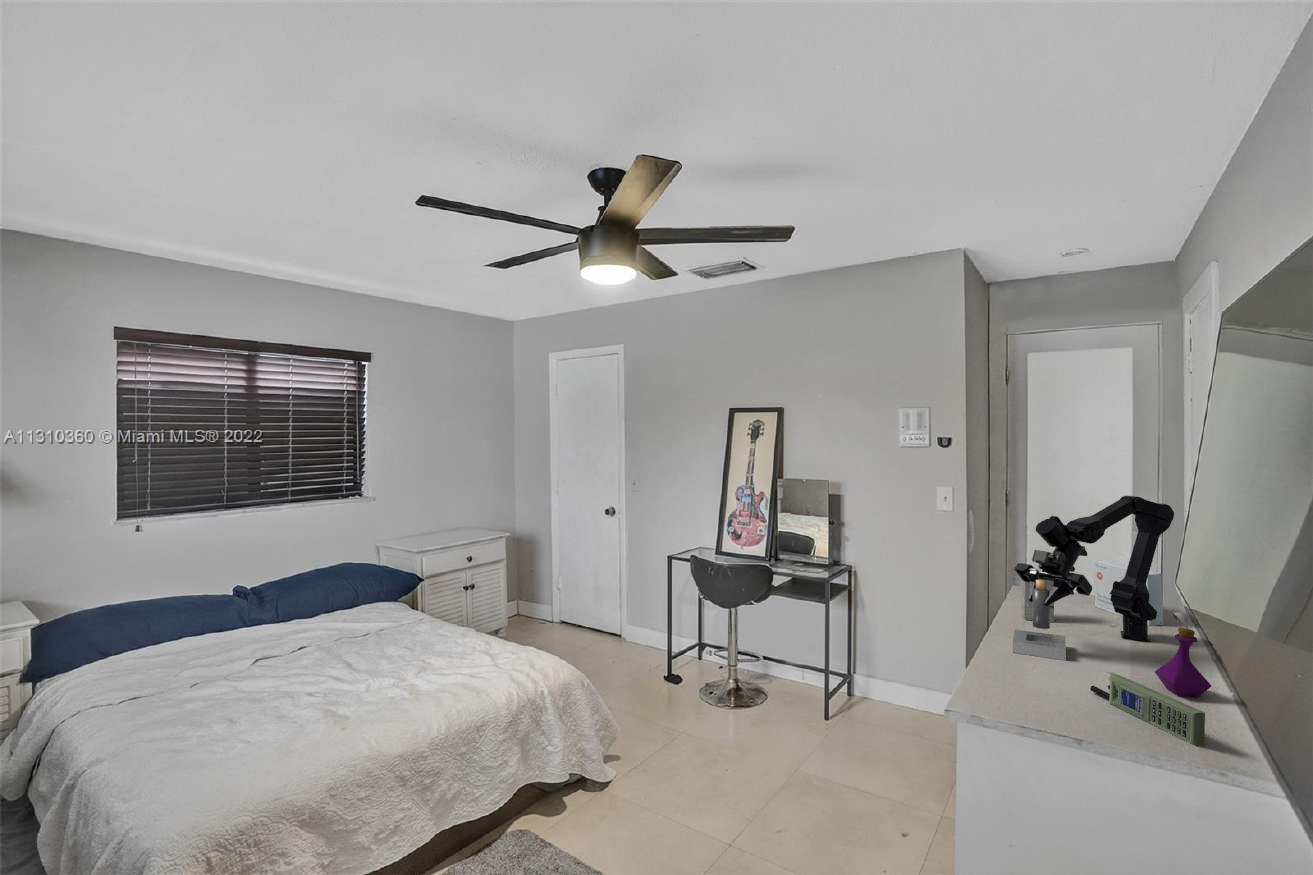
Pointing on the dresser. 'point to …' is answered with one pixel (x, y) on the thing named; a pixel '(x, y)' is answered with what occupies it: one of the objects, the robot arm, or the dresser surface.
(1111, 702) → the handheld radio
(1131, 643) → the dresser surface
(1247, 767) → the dresser surface
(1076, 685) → the dresser surface
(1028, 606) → the skincare box
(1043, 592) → the plug
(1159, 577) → the skincare box
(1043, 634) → the socket plate
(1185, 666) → the perfume bottle
